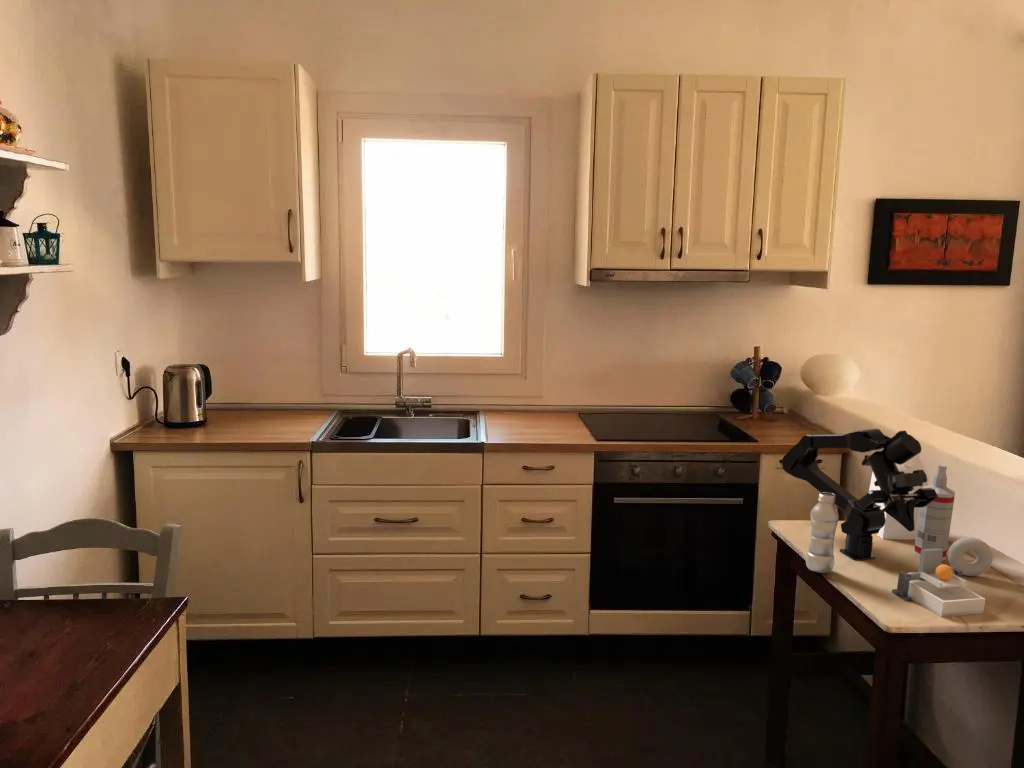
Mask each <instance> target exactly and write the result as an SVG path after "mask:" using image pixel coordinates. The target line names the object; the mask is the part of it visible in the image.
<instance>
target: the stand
mask: <svg viewBox="0 0 1024 768" xmlns="http://www.w3.org/2000/svg"><path fill="white" fill-rule="evenodd" d="M950 568H951V569H952V570H954V571H955V575H956V576H958V577H960V578H962V579H963V575H962V572H963V571H961V570H959V569H957V568H953V567H950ZM908 573H909V572H906V571H905V570H904V571H899V572H898V578H897V586H896V588H892V590H891V593H892V594H893V595H896V596H897V597H899V598H900V599H902V600H904V601H905V602H906V601H909V602H913V599H912V597H910V596H908V590H909V582H910V574H908Z"/></svg>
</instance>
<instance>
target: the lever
mask: <svg viewBox="0 0 1024 768" xmlns="http://www.w3.org/2000/svg"><path fill="white" fill-rule="evenodd" d="M942 554H943V550H942V549H940V548H932V549H921V555H920V557H919V563H918V570H917V571H916V572H907V573H908V574H910V581H917V580H926V581H928V582H930V583H931V584H933V585H935V586H937V587H938V588H945V587H958V586H963V587H966V586H967V582H968V581H967V580H966V579H963V577H962V578H960V577H958V576H956V575H955V571H954V570H952V571H953V575H952V577H951V578H950V579H948V580H942V579H940V578H938V577H937V575H936V572H935V571H936V568H937V567H938V566H939V565H942V562H943V561H942Z"/></svg>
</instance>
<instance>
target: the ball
mask: <svg viewBox="0 0 1024 768" xmlns="http://www.w3.org/2000/svg"><path fill="white" fill-rule="evenodd" d="M951 568H952V567H950V566H949V565H947V564H945V563H944V564H942V563H941V565H939V566H938V567H937V568H936V571H935V572H936V575H937V577H938V578H940V579H942V580H948V579H950V578H951V577H952V575H953V571H952V569H951Z"/></svg>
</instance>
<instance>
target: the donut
mask: <svg viewBox="0 0 1024 768" xmlns="http://www.w3.org/2000/svg"><path fill="white" fill-rule="evenodd" d="M971 551H972V552H974V553H975V554H976V559H975V560H974V561H972V562H971V561H970V562H969V561H965V559H964V555H965V554H966V553H967V552H971ZM947 560H948V562H949V565H950V566H951V568H957V569H959V570H961V571H963V572H962V576H967V577H976V576H980V575H982V574H984V573H986V572H987V571H988V570H989V568H991V566H992V564H993V561H994V559H993V551H992V550H991V547H990V546H989V545H988V544H987V543H986V542H985V541H983V540H982V539H980V538H976V537H973V536H969V537H968V536H967V537H966V536H964V537H962V538H958V539H957V540H955V541H954V542H953V543H952V544H951V546H950V547H949V549H948V551H947Z"/></svg>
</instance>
